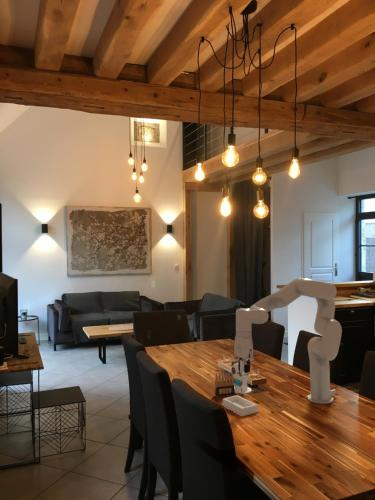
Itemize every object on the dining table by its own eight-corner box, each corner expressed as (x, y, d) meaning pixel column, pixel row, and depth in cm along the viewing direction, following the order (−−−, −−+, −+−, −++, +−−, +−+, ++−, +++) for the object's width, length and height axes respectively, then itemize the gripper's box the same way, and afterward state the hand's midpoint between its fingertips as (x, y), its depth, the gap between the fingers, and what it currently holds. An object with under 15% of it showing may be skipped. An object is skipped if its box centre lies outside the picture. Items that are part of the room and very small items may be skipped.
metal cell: (245, 372, 212) (244, 356, 212) (250, 374, 209) (249, 358, 209) (238, 374, 210) (238, 357, 210) (243, 376, 207) (243, 359, 207)
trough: (238, 401, 218) (238, 395, 218) (258, 411, 204) (258, 404, 204) (222, 405, 213) (221, 398, 213) (241, 416, 199) (241, 409, 199)
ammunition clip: (233, 393, 230) (233, 371, 230) (235, 394, 228) (234, 372, 228) (214, 395, 228) (214, 373, 228) (215, 396, 226) (215, 374, 226)
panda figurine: (226, 388, 238) (225, 361, 238) (243, 385, 244) (242, 358, 244) (238, 395, 228) (237, 366, 228) (255, 391, 233) (254, 363, 233)
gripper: (227, 331, 215) (228, 368, 215) (248, 337, 200) (248, 376, 200) (239, 330, 219) (240, 366, 219) (260, 336, 204) (261, 374, 204)
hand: (244, 370), depth 210 cm, fingers closed on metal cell, 4 cm apart
